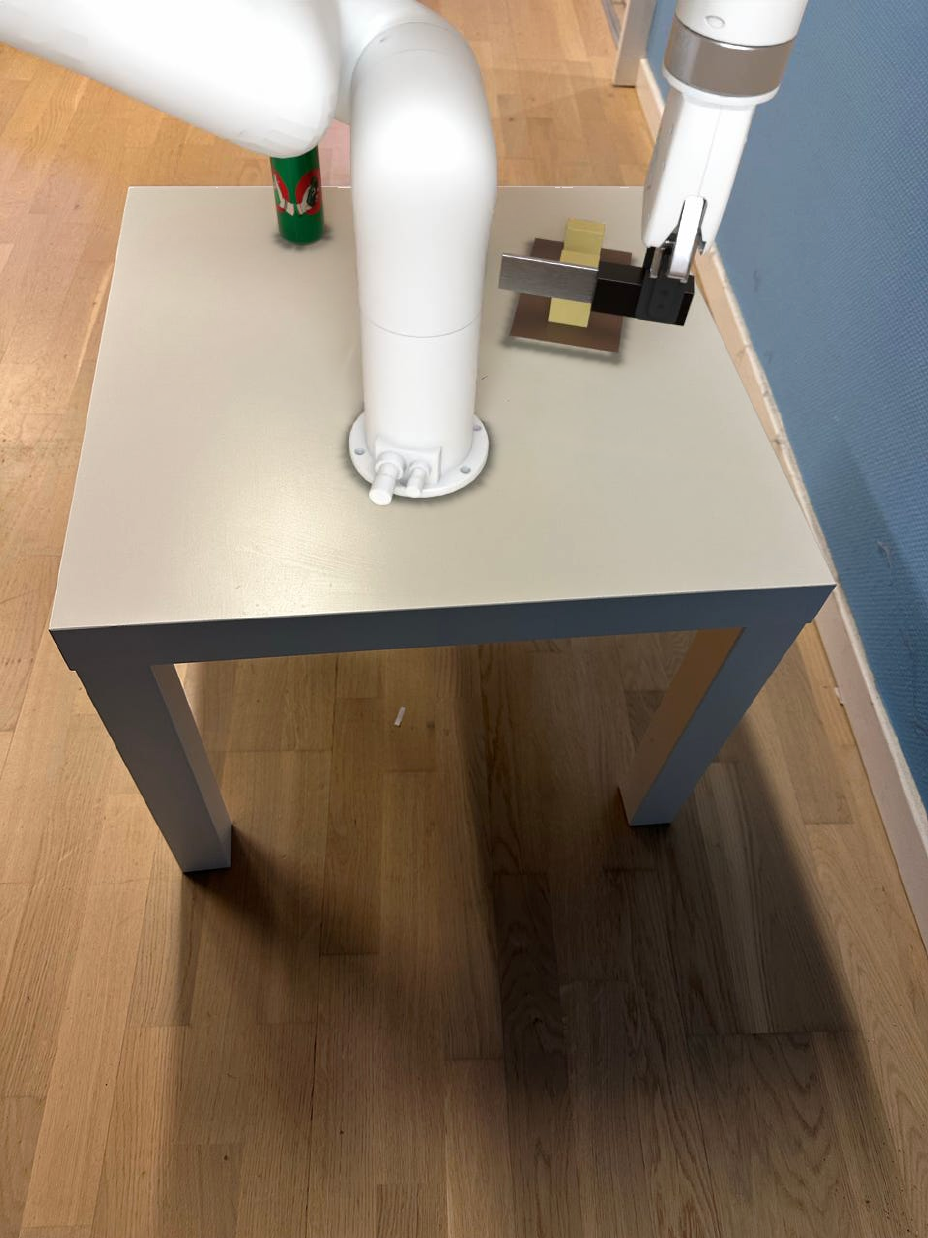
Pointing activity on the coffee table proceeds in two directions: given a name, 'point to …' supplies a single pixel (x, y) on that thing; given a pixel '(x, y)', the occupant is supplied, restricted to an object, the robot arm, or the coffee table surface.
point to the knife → (583, 283)
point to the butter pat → (584, 236)
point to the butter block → (569, 309)
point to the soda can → (299, 197)
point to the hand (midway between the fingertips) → (655, 305)
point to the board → (536, 326)
